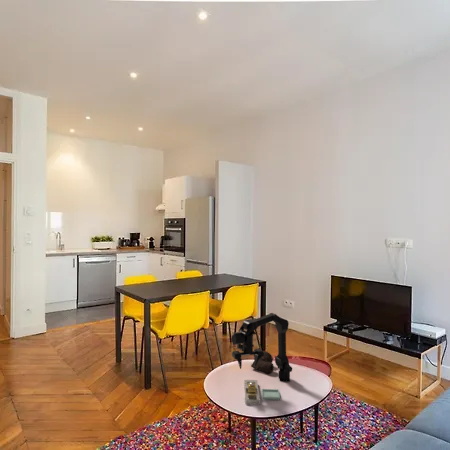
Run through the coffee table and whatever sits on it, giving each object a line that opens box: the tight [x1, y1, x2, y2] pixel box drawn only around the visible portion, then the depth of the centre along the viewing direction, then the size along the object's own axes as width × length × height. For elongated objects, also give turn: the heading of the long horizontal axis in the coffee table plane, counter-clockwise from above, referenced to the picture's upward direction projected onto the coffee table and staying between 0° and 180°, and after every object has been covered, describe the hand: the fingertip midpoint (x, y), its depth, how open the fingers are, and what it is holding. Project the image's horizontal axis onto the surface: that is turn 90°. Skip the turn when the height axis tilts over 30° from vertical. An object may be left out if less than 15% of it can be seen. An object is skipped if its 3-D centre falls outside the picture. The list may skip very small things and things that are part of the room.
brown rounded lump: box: [250, 350, 274, 374], centre depth 245 cm, size 10×15×15 cm
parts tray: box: [261, 388, 281, 401], centre depth 208 cm, size 10×10×2 cm
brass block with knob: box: [247, 382, 257, 394], centre depth 208 cm, size 4×4×7 cm
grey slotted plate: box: [243, 379, 261, 405], centre depth 210 cm, size 8×24×3 cm, turn 178°
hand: (247, 367), depth 215 cm, fingers open, 9 cm apart
